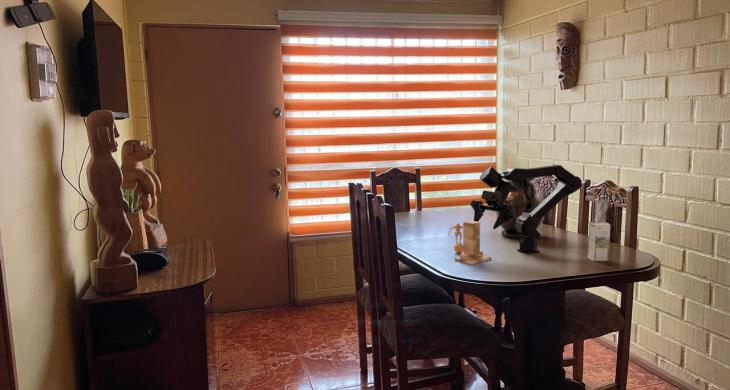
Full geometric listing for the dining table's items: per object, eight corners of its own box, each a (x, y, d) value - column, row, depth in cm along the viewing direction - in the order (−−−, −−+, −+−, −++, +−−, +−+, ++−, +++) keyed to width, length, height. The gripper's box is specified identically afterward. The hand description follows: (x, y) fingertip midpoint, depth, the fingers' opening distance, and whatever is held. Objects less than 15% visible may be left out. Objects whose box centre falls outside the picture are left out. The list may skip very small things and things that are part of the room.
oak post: (470, 250, 211) (471, 220, 210) (479, 252, 208) (480, 222, 206) (463, 252, 209) (463, 222, 207) (472, 254, 205) (472, 223, 204)
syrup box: (601, 258, 209) (603, 221, 207) (609, 261, 203) (610, 223, 201) (587, 258, 209) (588, 221, 207) (594, 262, 203) (595, 224, 201)
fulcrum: (475, 255, 216) (475, 248, 216) (491, 259, 210) (491, 251, 210) (454, 260, 209) (454, 253, 208) (470, 264, 203) (470, 256, 202)
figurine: (449, 254, 219) (449, 225, 218) (447, 250, 225) (447, 222, 224) (469, 253, 219) (470, 224, 218) (467, 250, 225) (467, 222, 224)
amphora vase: (553, 238, 246) (555, 177, 243) (514, 242, 238) (515, 179, 235) (523, 230, 266) (524, 173, 262) (486, 233, 258) (487, 175, 255)
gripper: (472, 179, 217) (455, 211, 212) (513, 185, 204) (496, 218, 199) (484, 196, 224) (467, 226, 219) (524, 202, 211) (507, 235, 206)
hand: (483, 226), depth 210 cm, fingers open, 9 cm apart
